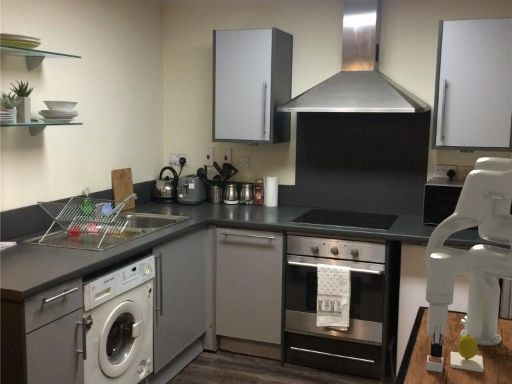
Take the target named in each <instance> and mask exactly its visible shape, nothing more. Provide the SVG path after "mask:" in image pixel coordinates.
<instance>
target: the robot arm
mask: <svg viewBox="0 0 512 384" xmlns="http://www.w3.org/2000/svg"><path fill="white" fill-rule="evenodd" d="M459 195H460V196H459V197H458V201H457V204H456V206H455V210H454V212H453V213H452V214H451V215H450V216H448V217H447V218H446V219H443V221H442V222H440V223H439V224H438V225H437V226H436V227H435V229H434V230H433V231H432V233H431V235H430V237H429V240H428V243H427V245H426V249H425V252H424V263H425V265H426V268H427V269H426V286H425V288H426V289H425V301H426V302H427V303H428V309H427V310H428V311H427V328H426V329H427V330H426V335H427V337H428V338H429V337H431V341H430V356H433V357H440V358H441V357H443V345H444V344H443V339H445V337H446V336H445V335H446V332H447V322H448V315H449V306H451V305H452V304H454V293H455V292H454V291H455V289H454V288H455V279H456V278H460V277H466V276H468V277H469V278H468V279H469V280H468V294H467V295H468V297H467V308H466V309H467V310H466V316H465V317H464V318H463V319H461V320H460V322H459V323H460V324H462V325H463V326H464V328H463V329H461V331H460V333H459V334H460V338H461V337H462V336H464V335H467V334H469V335H470V336H472V337H474V339H475V340H476V342H477V346H490V347H491V346H497V345H499V344H500V343H501V342H502V337H501V335H500V334H499V333H497V332H498V322H499V307H500V296H501V288H500V284H499V282H498V279H497V278H499V279H503V280H509V281H512V214H511V205H512V158H507V157H506V158H505V157H495V156H492V157H491V156H490V157H489V156H486V157H485V156H484V157H480V158H478V159H476V161H475V163H474V170H472V171H470V172H469V173H468V174H467V176H466V177H465V180H464V183H463V186H462V189H461V191H460V194H459ZM473 227H478V229H477V231H478V235H479V237H480V238H481V239H483V240H485V241H489V242H493V243H498V244H504V245H509V246H510V248H504V247H500V246H495V245H490V244H476V245H474V246H471V248H470V249H469V251H467V250H463V249H459V248H454V247H449V246H445V245H444V243H445V241H446V240H447V238H449V237H450V236H451V235H452V234H454V233H457V232H459V231H462V230H466V229H469V228H473Z"/></svg>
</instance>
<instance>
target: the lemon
mask: <svg viewBox="0 0 512 384" xmlns="http://www.w3.org/2000/svg"><path fill="white" fill-rule="evenodd" d="M457 352H458V353H459V354H460V355H461V356H462V357H463V358H465V359H466V360H468V359H470V358H473V357H474V356H475V355H477V353H478V344H477V342H476V340H475V339H474V337H472V336H470V335H469V334H467V335H464V336H462V337H461V336H460V338H459V340H458V343H457Z"/></svg>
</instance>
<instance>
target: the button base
mask: <svg viewBox="0 0 512 384" xmlns="http://www.w3.org/2000/svg"><path fill="white" fill-rule="evenodd" d="M430 357H431V355H429V354H428V355H427V357H426V358H427V359H426V371H431V372H438V373H443V370H444V369H443V367H444V357H443V356H442V357H441V358H440V357H439V358H440V363H437V362H431V361H430Z"/></svg>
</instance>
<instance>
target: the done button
mask: <svg viewBox="0 0 512 384" xmlns="http://www.w3.org/2000/svg"><path fill="white" fill-rule="evenodd" d="M430 356H431V355H430ZM430 361H431V362H437V363H440V358H439V357H433V356H431V357H430Z"/></svg>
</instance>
